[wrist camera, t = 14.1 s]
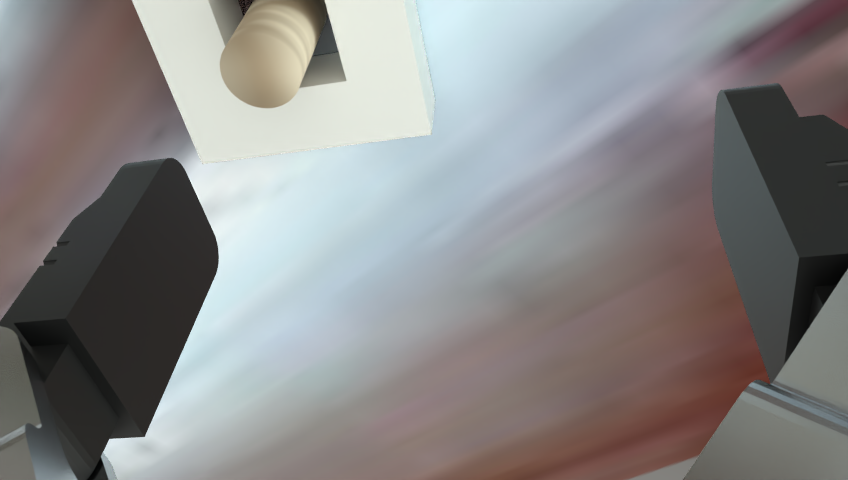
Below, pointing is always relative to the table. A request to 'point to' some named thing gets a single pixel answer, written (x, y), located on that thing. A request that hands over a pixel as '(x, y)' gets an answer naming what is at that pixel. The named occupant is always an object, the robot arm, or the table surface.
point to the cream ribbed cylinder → (272, 50)
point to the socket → (320, 88)
